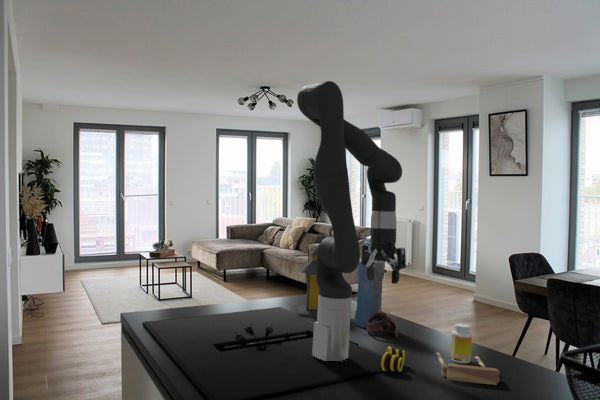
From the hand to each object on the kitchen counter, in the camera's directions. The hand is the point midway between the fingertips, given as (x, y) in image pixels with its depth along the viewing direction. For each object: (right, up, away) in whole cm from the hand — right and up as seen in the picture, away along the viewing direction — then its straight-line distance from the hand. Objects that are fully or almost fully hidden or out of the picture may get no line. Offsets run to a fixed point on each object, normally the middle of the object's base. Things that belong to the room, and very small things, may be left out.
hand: (382, 281), depth 151 cm
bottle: (-1, -20, +28) cm, 34 cm away
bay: (+20, -22, -12) cm, 32 cm away
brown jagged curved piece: (+3, -20, +18) cm, 27 cm away
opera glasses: (0, -21, -15) cm, 26 cm away
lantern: (-18, -19, +42) cm, 49 cm away
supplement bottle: (+21, -22, -6) cm, 31 cm away
